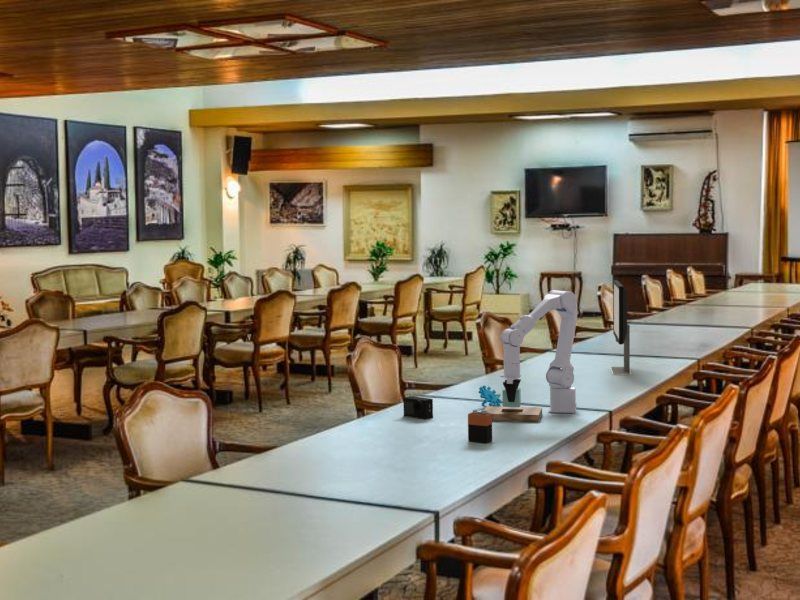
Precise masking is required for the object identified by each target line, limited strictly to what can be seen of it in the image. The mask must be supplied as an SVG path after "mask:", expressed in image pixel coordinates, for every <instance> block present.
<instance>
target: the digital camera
mask: <svg viewBox="0 0 800 600" xmlns="http://www.w3.org/2000/svg"><path fill="white" fill-rule="evenodd" d="M403 417H405V418H413V419H419V420H428V419H433V418H434V405H433V398H429V397H420V396H413V395H410V396H404V397H403Z"/></svg>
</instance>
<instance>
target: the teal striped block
mask: <svg viewBox="0 0 800 600" xmlns="http://www.w3.org/2000/svg"><path fill="white" fill-rule="evenodd" d="M521 391H522V390H521V388H520V387H518V388H517V390H516V396H515V401H514V402H508V398H507V393H506V390H505V387H503V388H502V391H501V392H502V394H501V396H502V407H521V404H522V403H521V401H522V399H521Z"/></svg>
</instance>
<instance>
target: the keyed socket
mask: <svg viewBox="0 0 800 600" xmlns="http://www.w3.org/2000/svg"><path fill="white" fill-rule="evenodd" d="M484 410H486V411H488V412H487V413H491V414H492V422H520V423H521V422H523V423H524V422H525V423H526V422H527V423H540V420H541V418H542V415H543V407H540V406H539V407H536V406H535V407H534V406H532V407H531V406H528V407H527V406H520V407H503V406H497V407H496V406H493V405H492V406H489V405H488V406H485V408H484Z"/></svg>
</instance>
